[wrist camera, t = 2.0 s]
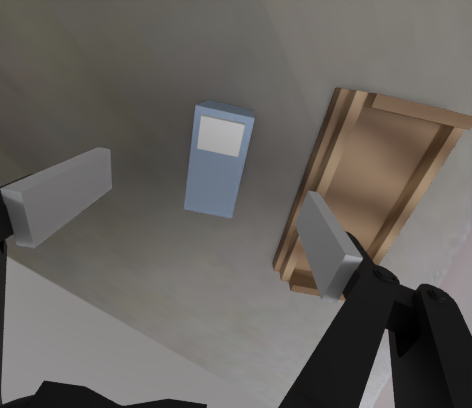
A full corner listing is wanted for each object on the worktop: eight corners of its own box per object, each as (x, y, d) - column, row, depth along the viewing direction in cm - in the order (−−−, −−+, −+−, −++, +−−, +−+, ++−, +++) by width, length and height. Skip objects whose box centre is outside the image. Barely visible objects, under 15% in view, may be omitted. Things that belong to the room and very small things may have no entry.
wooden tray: (355, 278, 33) (370, 305, 29) (272, 262, 32) (276, 288, 28) (453, 115, 23) (497, 121, 19) (335, 87, 22) (355, 88, 18)
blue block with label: (234, 190, 27) (231, 224, 21) (197, 182, 27) (181, 214, 20) (252, 109, 23) (255, 119, 17) (208, 99, 23) (193, 106, 16)
